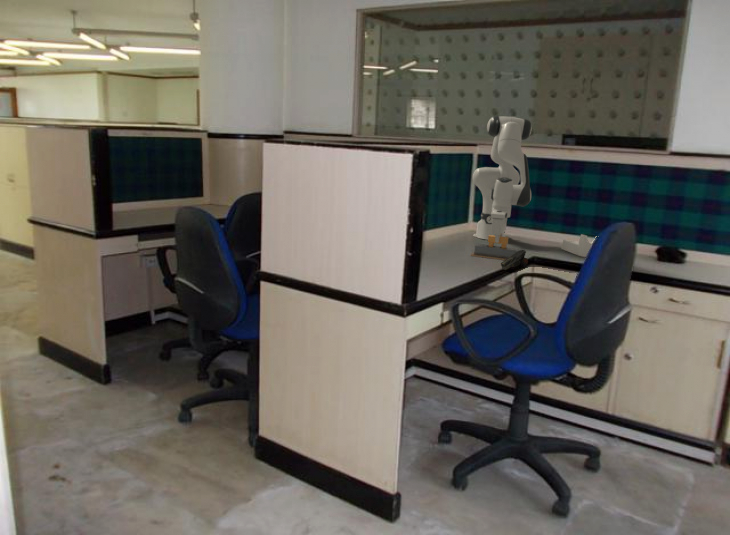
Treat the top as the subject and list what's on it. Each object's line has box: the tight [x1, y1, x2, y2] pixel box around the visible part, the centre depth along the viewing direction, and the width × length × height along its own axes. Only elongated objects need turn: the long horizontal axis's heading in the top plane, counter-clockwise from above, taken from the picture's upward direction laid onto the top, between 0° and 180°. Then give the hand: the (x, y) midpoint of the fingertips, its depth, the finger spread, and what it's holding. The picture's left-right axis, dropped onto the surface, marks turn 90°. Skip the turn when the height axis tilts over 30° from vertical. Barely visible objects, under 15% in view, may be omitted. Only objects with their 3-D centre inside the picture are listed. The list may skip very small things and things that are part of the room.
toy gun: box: [500, 248, 529, 271], centre depth 270 cm, size 2×16×10 cm, turn 130°
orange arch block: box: [487, 235, 509, 249], centre depth 291 cm, size 3×9×6 cm, turn 69°
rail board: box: [470, 243, 520, 261], centre depth 292 cm, size 12×22×5 cm, turn 69°
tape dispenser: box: [560, 233, 597, 258], centre depth 313 cm, size 18×10×10 cm, turn 13°
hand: (497, 241), depth 291 cm, fingers closed on orange arch block, 3 cm apart
